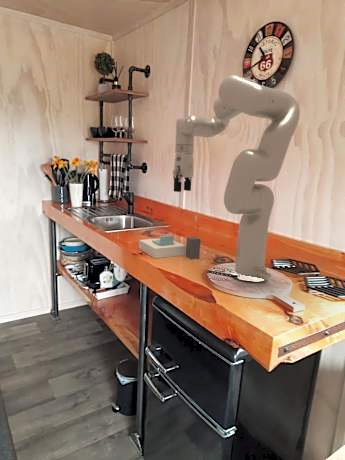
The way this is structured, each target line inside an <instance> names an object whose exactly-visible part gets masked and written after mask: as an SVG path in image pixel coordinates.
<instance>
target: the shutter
mask: <svg viewBox="0 0 345 460" xmlns="http://www.w3.org/2000/svg"><path fill="white" fill-rule="evenodd" d="M174 237H175V236H174V235H160V236H159V238H160V240H153V241H152V242H154V243H156V244H158V245H170V244H174V243H173V241H175V240H174Z"/></svg>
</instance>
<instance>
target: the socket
mask: <svg viewBox="0 0 345 460" xmlns="http://www.w3.org/2000/svg"><path fill="white" fill-rule="evenodd" d="M153 240H160V237H158V238H151V239H150V238H146V239H139V241H138V243H139V248H138V249H139V250H140V251H142V252H143V253H146V254H147V255H149V257H150V256H151V257H152V258H153V259H163V258H171V257H181V256H186V245H185V244H183V243H180V242H178V241H176V240H174V241H173V243H174V244H170V245H158V244H156V243H154V242H152V241H153Z"/></svg>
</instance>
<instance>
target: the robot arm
mask: <svg viewBox="0 0 345 460" xmlns="http://www.w3.org/2000/svg"><path fill="white" fill-rule="evenodd" d="M217 94H218V97H217V98H216V99H215V100H214V102H213V107H212V108H213V111H214V116H212V117H207V116H201V115H196V114H195V115H193V114H192V115H188V116H186V117H180V118H178V119H177V120H176V124H175V125H176V126H175V147H174V148H175V150H174V153H175V155H174V156H175V158H174V167H173V171H172V176H173V177H172V178H173V192H177V193H181V192H182V183H183V191H185V192H186V191H187V192H188V191H189V192H190V191H192V178H193V177H194V149H195V148H194V147H195V146H194V144H195V137H202V138H212V137H215V136H216V135H219V134H220V133H222V132H223V131H225V130H226V129H227V127H228V125H229V123H230V120H232V119H233V118H235V117H237V116H238V115H240V114H241V113H243V114H245V115H248V116H251V117H255V118H260V119H265V120H270V121H271V122H270V123H269V124H268V126H267V127H266V128H265V130H264V131H263V133H262V135H261V138H260V142H259V144H258V147H257V149H254V148H253V149H252V148H248V149H245V150H242V151H241V152H239V154H237V156H236V157H235V159H234V161H233V163H232V166H231V170H230V172H229V176H228V180H227V183H226V187H225V190H224V193H223V204H224V207H225V210H227V211H228V212H229V213H230V214H233V215H241V218H240V219H239V224H238V233H237V245H236V258H235V268H234V269H235V271H236V272H237V273H239V274H241V275H245V276H251V277H257V278H262V279H264V280H266V281H268V280H269V278H271V277H272V273H271V272H268V271H267V268H268V267H267V266H265V263H266V262H265V261H266V253H267V252H266V251H267V243H268V232H269V224H270V220H271V219H270V217H271V216H272V215H271V213H272V211H273V207H274V204H275V195H274V192H273V190H272V188H270V187H269V185H268V186H267V185H266V184H262V183H256V182H271V181H274V180H276V179H277V177H278V176H279V174H280V171H281V170H282V166H283V164H284V161H285V158H286V155H287V152H288V150H289V146H290V144H291V141H292V138H293V136H294V133H295V131H296V129H297V126H298V123H299V121H300V114H301V110H300V105H299V103H298V100H296V98H295V97H294V96H292V94H289V93H288V92H285V91H283V90H280V89H278V88H277V89H276V88H272V87H268V86H267V85H265V86H264V85H261V84H259V83H258V82H257V81H256V80H254V79H251V78H247V77H244V76H240V75H237V74H232V75H228V76H226V77H225V78H224V79H223V80H222V81H221V83H220V85H219V87H218V93H217ZM183 178H184V181H183V182H182V180H183Z"/></svg>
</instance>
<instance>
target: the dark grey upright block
mask: <svg viewBox="0 0 345 460" xmlns="http://www.w3.org/2000/svg"><path fill="white" fill-rule="evenodd" d="M185 246H186V253H185V258H188V259H189V260H196V259H200V257H201V256H200V253H201V238H200V237H196V236H193V237H191V236H190V237H186V245H185Z"/></svg>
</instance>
